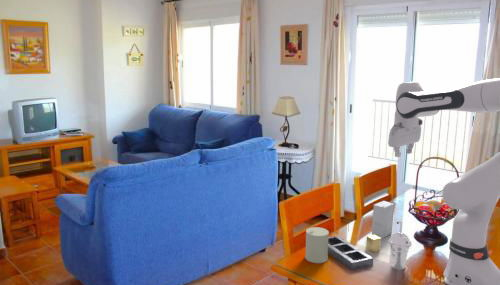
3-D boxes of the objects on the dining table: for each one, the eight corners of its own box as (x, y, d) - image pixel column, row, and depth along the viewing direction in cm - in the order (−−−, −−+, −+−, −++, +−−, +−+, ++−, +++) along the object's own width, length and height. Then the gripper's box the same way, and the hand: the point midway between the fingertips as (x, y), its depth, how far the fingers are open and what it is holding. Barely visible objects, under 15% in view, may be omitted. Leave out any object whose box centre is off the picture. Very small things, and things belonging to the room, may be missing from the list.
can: (301, 255, 178) (301, 227, 176) (320, 251, 182) (321, 224, 179) (311, 264, 170) (312, 236, 168) (332, 261, 173) (333, 232, 171)
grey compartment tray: (372, 265, 170) (373, 258, 169) (351, 270, 166) (352, 262, 165) (337, 242, 191) (337, 235, 191) (317, 245, 187) (318, 239, 187)
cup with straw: (414, 268, 167) (418, 219, 163) (398, 274, 163) (401, 223, 159) (397, 259, 174) (400, 212, 170) (381, 265, 170) (384, 216, 166)
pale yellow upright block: (379, 251, 182) (380, 237, 181) (372, 253, 181) (373, 239, 179) (373, 247, 186) (374, 234, 185) (366, 249, 184) (366, 235, 183)
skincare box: (381, 230, 205) (383, 200, 202) (392, 234, 200) (394, 203, 197) (371, 234, 200) (372, 203, 197) (382, 238, 195) (384, 207, 192)
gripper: (400, 125, 167) (397, 160, 169) (424, 120, 180) (422, 152, 183) (385, 123, 171) (383, 157, 174) (410, 118, 185) (408, 150, 188)
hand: (403, 155), depth 179 cm, fingers open, 8 cm apart
